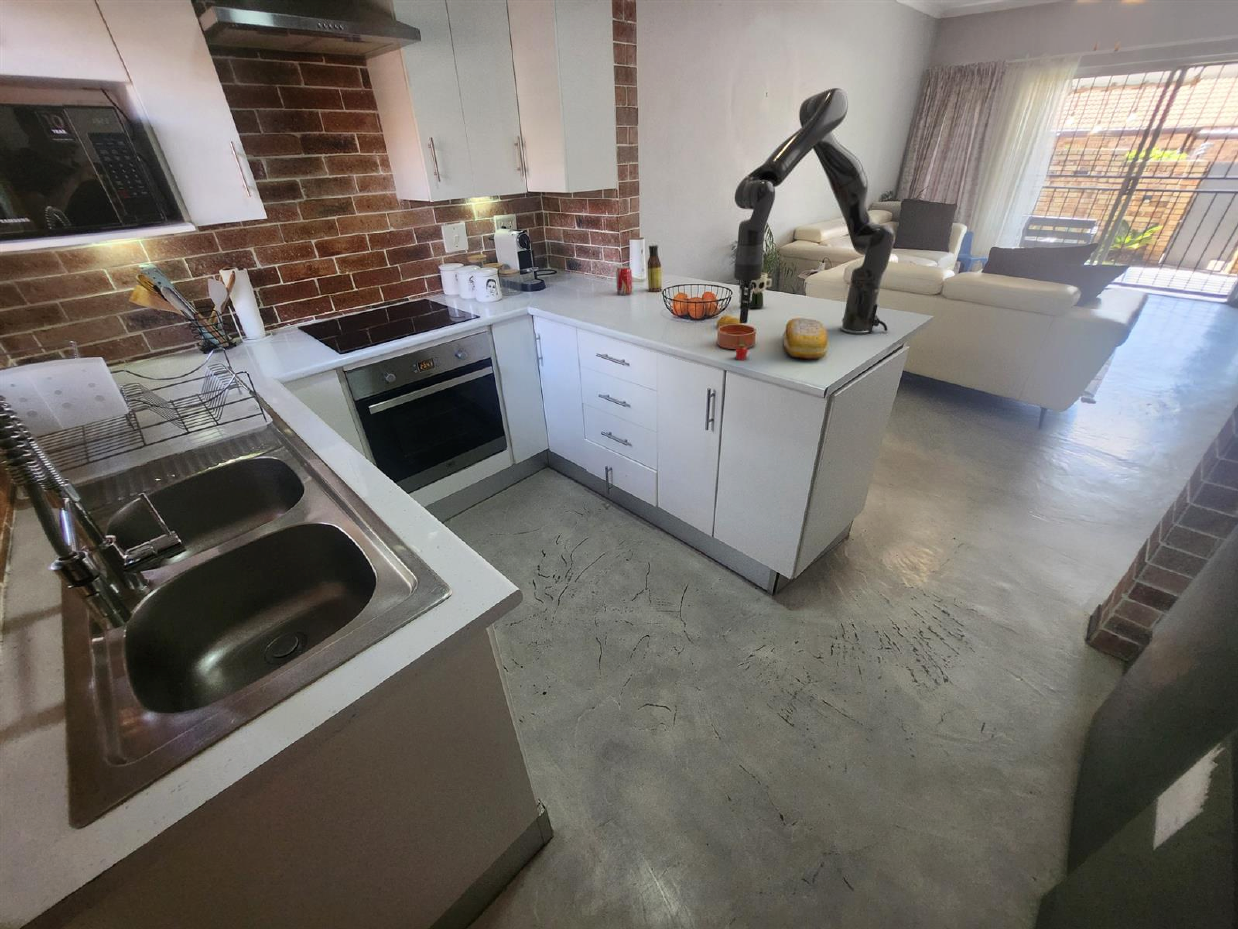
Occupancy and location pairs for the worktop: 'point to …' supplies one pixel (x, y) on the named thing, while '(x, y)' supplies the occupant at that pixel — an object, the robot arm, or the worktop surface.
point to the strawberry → (741, 352)
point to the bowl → (736, 336)
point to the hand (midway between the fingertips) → (743, 318)
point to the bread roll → (727, 321)
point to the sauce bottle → (654, 270)
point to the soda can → (624, 280)
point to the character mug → (759, 290)
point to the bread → (805, 338)
